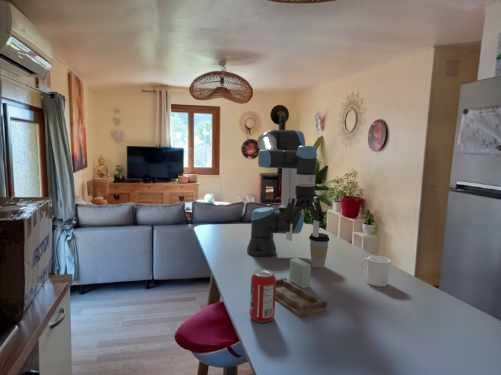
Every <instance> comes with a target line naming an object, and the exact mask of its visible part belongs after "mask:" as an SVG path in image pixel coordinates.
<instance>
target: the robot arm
mask: <svg viewBox="0 0 501 375" xmlns="http://www.w3.org/2000/svg"><path fill="white" fill-rule="evenodd" d="M257 148H258V149H259V150H258V153H257V165H258V167H259V168H265V169H281V202H280V203H281V204H280V205H279V206H278V209H277V210H276V209H275V207H269V206H267V207H259V208H255V209H254V210H252V212H251V218H250V220H251V227H250V229H251V230H250V239H249V242H248V244H247V248H246V253H247V254H248V255H251V256H254V257H261V258H262V257H263V258H264V257H266V258H267V257H273V256H275V255H276V254H277V248H276V242H275V239H274V234H282V235H283V234H286V235H285V239H286V240H287V241H289V242H292V241H293V234H294V235H297V234H301V232H302V229H303V226H304V223H305V222H304V220H305V212H304V211H302V210H305V209H307V210H308V211H309V212H310V213H311V215H312V216H313V218H314V220H313V222H312V233H313V236H315V237H318V236H319V233H320V229H321V222H323V220H324V219H325V218H326V217H325V214H324V210H323V208H322V206H321V205H322V204H321V198H320V197H319V196H315V191H316V190H315V189H316V188H315V184H316V173H317V172H316V170H317V156H318V149H317V147H316V146H315V145H306V138H305V135H304V133H303V131H302V130H295V129H270V130H267V131H264V132H263V133H261V134H260V135H259V136H258V138H257Z"/></svg>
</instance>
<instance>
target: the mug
mask: <svg viewBox="0 0 501 375" xmlns="http://www.w3.org/2000/svg"><path fill="white" fill-rule="evenodd" d="M365 261H366V270H365V265H364V264H365ZM390 266H391V259H389V258H388V257H385V256H380V255H370V256H367V258H366V257H365V258H363V259H362V260H361V267H362V268H361V269H362V272H363V274H364V276H365V277H366V282H367V284H368V285H370V286H372V287H378V288H384V287H387V286H388V282H389V277H390V276H389V274H390V268H391V267H390Z"/></svg>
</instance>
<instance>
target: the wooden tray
mask: <svg viewBox="0 0 501 375" xmlns="http://www.w3.org/2000/svg"><path fill="white" fill-rule="evenodd" d="M275 302H277V303H279V304H280V305H282V306H283V307H284V308H286V309H288V310H289V311H291V312H292V313H293V314H295V315H296V316H298V317H299V318H303V317H306V316H307V317H308V316H310V315H314V314H317V313H321V312H325V311H327V310H328V309H327V307H328V301H327V300H321V299H320V298H317V296H315V295H312V294H311V293H309V292H308V291H306V290H304V289H303V288H302V287H300V286H298V285H296V284H295V283H294V284H293V282H291V281H290V280H288V278H286V277H282V278H276V292H275Z"/></svg>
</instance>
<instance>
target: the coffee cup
mask: <svg viewBox="0 0 501 375" xmlns="http://www.w3.org/2000/svg"><path fill="white" fill-rule="evenodd" d="M308 239H309V241H310V244H309V247H310V248H309V249H310V259H311V260H310V261H311V262H310V264H311V268H315V269H324V268H325V266H326V258H327V255H328V254H327V253H328V250H329V249H328V248H329V241H330V237H329V235H328V234H327V233H322V232H319V236H318V237H315V236H313V232H312V233H311V234H310V235H309V238H308Z"/></svg>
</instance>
